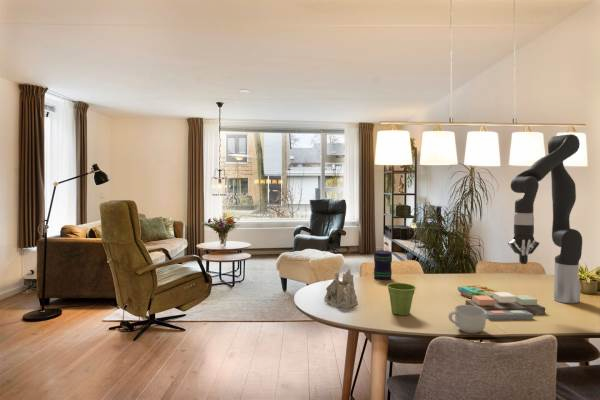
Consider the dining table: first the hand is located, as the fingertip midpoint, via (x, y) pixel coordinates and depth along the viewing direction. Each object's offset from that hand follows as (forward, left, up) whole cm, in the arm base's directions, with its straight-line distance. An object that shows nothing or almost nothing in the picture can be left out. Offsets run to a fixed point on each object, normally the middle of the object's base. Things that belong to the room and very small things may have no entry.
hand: (523, 263), depth 179 cm
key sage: (0, +2, -16) cm, 16 cm away
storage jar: (+47, -57, -20) cm, 76 cm away
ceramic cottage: (+77, -12, -20) cm, 81 cm away
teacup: (+36, +26, -20) cm, 48 cm away
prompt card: (+13, +12, -19) cm, 26 cm away
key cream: (+9, +2, -15) cm, 18 cm away
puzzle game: (+10, -15, -20) cm, 27 cm away
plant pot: (+54, +5, -20) cm, 58 cm away
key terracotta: (+18, +2, -16) cm, 24 cm away
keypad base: (+9, +2, -19) cm, 21 cm away
